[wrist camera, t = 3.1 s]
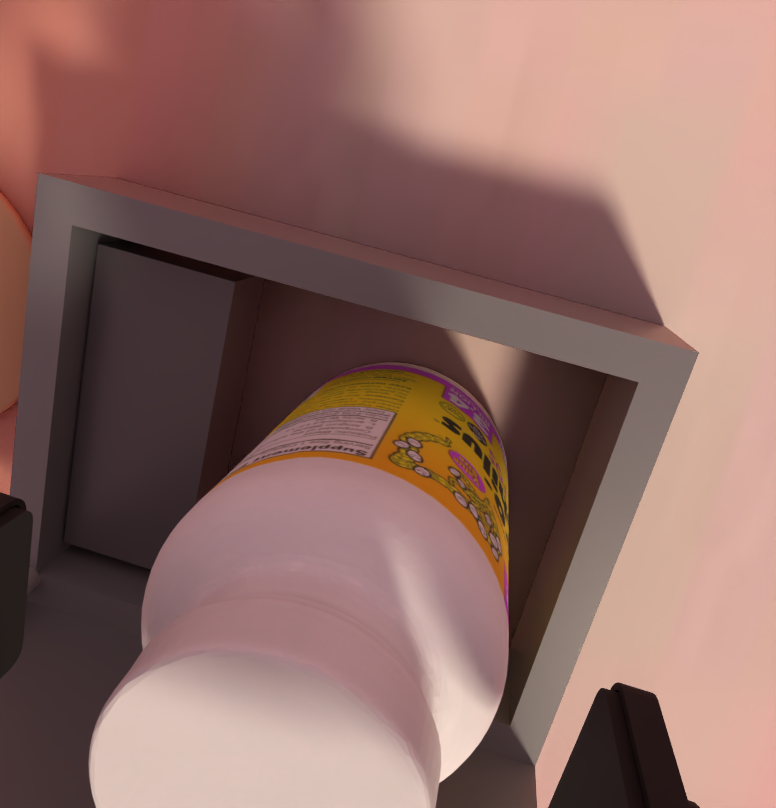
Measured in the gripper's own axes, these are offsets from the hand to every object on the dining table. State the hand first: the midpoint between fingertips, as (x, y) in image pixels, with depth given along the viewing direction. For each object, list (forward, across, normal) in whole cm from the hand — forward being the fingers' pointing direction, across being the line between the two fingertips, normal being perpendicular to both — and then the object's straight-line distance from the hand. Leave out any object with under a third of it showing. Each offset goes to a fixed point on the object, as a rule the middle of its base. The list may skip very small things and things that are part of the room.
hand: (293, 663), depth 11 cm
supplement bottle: (+11, 0, +1) cm, 11 cm away
